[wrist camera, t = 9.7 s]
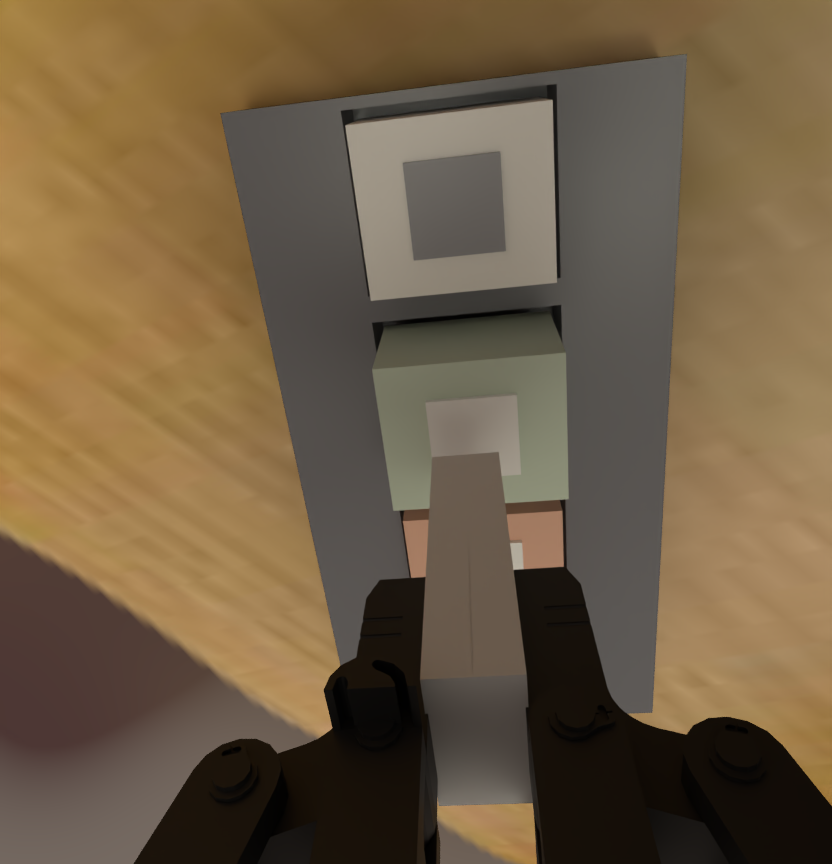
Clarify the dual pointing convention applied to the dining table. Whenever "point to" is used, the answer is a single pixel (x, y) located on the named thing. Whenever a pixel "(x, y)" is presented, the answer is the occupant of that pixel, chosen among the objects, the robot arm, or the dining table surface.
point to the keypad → (566, 300)
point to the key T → (528, 531)
